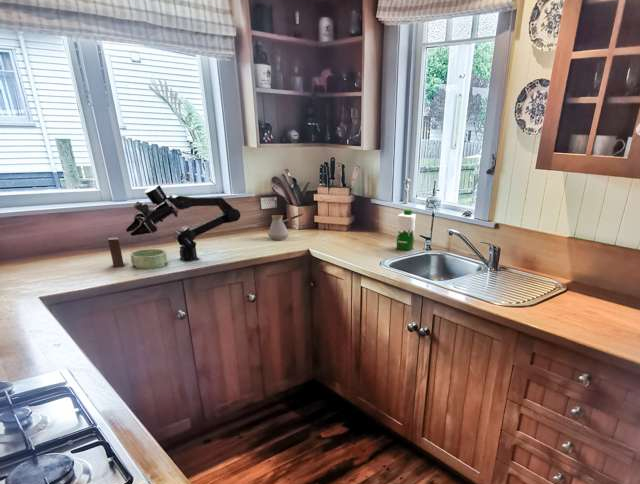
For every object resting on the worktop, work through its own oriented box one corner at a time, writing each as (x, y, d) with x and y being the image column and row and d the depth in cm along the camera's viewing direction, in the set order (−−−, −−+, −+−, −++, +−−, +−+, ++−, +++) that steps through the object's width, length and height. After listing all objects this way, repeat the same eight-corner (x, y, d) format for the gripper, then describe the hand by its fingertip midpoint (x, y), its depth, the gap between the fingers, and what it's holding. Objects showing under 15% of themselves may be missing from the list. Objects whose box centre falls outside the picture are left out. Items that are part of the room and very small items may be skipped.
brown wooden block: (123, 263, 209) (118, 237, 204) (123, 266, 206) (118, 239, 201) (113, 264, 208) (108, 237, 202) (113, 267, 204) (108, 239, 199)
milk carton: (414, 247, 255) (417, 210, 247) (409, 251, 247) (412, 212, 239) (399, 245, 258) (401, 208, 249) (394, 249, 250) (396, 211, 242)
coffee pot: (264, 240, 260) (263, 212, 254) (273, 236, 270) (271, 209, 264) (301, 243, 256) (300, 215, 250) (308, 238, 267) (307, 212, 260)
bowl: (157, 258, 219) (155, 247, 216) (174, 264, 211) (172, 252, 208) (126, 264, 208) (123, 252, 206) (142, 271, 200) (140, 258, 198)
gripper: (142, 194, 206) (111, 213, 202) (153, 199, 193) (120, 220, 188) (158, 216, 213) (128, 234, 209) (170, 223, 200) (138, 243, 195)
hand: (128, 232), depth 200 cm, fingers open, 9 cm apart
